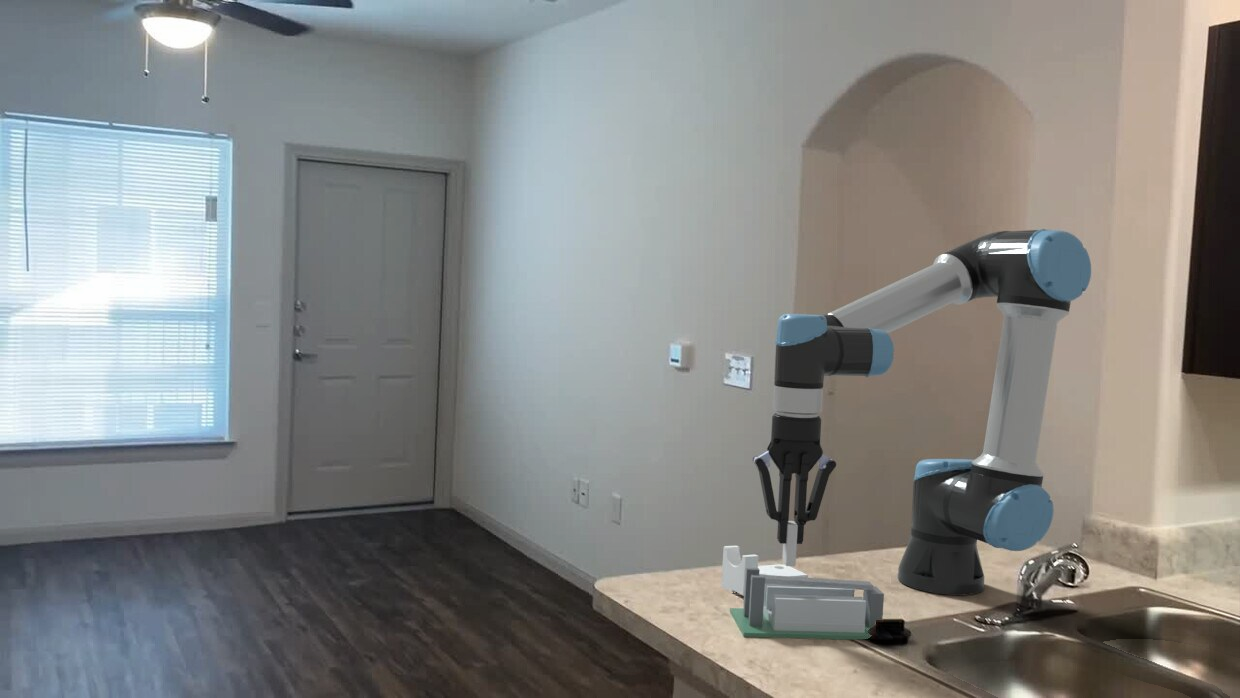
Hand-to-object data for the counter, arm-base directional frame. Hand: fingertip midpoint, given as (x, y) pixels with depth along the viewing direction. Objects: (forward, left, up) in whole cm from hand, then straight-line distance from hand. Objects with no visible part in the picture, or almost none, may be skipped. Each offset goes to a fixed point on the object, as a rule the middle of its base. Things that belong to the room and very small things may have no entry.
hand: (788, 563), depth 167 cm
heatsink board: (-4, 0, -10) cm, 10 cm away
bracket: (0, -19, -10) cm, 21 cm away
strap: (-4, 0, -3) cm, 5 cm away
